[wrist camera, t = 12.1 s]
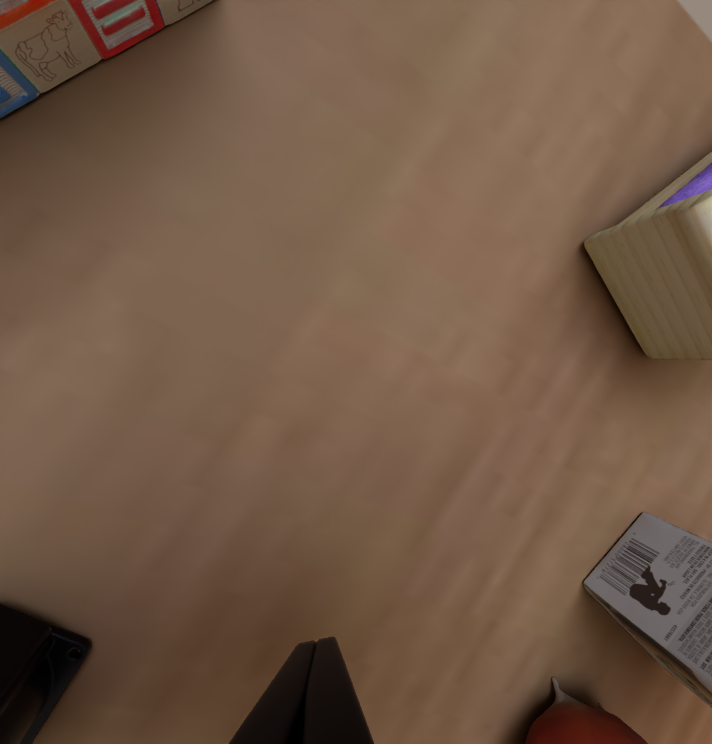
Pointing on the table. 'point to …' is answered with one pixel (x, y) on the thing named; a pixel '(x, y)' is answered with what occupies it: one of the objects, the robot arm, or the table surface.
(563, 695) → the fruit
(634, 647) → the table surface
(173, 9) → the stack of blocks
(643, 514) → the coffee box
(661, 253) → the toy sofa
